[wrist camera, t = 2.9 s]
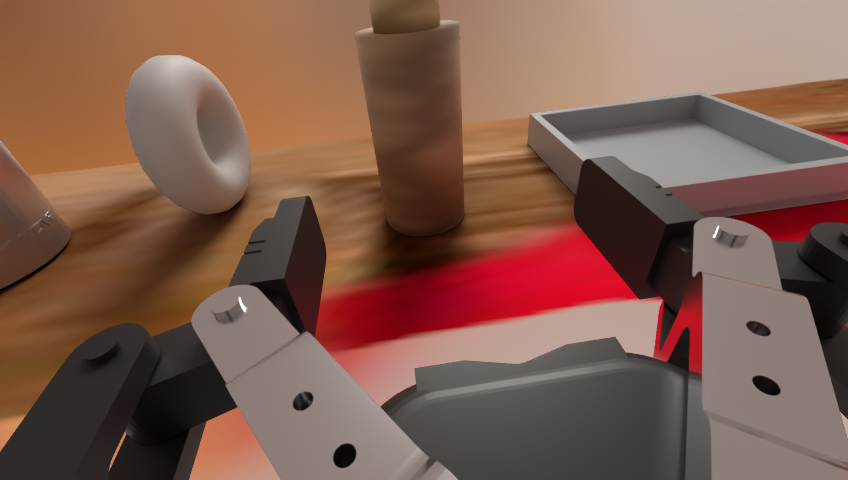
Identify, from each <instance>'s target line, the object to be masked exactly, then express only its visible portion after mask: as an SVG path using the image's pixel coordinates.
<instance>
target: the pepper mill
mask: <svg viewBox="0 0 848 480" xmlns="http://www.w3.org/2000/svg"><path fill="white" fill-rule="evenodd" d="M369 6H370V12H371V19H372V26H373V27H372V28H368V29H364V30H361V31H358V32H356V33H355V40H356V46H357V52H358V57H359V63H360V69H361V74H362V80H363V86H364V92H365V97H366V103H367V109H368V114H369V119H370V125H371V132H372V137H373V143H374V149H375V155H376V160H377V166H378V172H379V177H380V183H381V189H382V194H383V200H384V206H385V212H386V217H387V222H388V224H389V226H390V227H391V228H392V229H393V230H395V231H397V232H399V233H401V234H404V235H408V236H417V237H424V236H433V235H438V234H441V233H444V232H447V231H449V230H451V229H453V228H454V227H456V226H457V225H458V224H459V223H460V222H461V221H462V219H463V217H464V185H463V147H462V110H461V74H460V73H461V72H460V36H459V22H456V21H450V20H440V13H439V0H369Z"/></svg>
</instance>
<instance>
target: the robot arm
mask: <svg viewBox="0 0 848 480" xmlns="http://www.w3.org/2000/svg"><path fill="white" fill-rule="evenodd" d="M574 215H575V219H576V222H577V224H578V225H579V227H580V228H581V229H582V230H583V232H584V233H585V234H586V235H587V236H588V238H589V239H590V240H591V241H592V243H593V244H594V245H595V246H596V247H597V249H598V250H599V251H600V252H601V253H602V255H603V256H604V257H605V258H606V260H607V261H608V262H609V263H610V264H611V266H612V267H613V268H614V269H615V270H616V272H617V273H618V274H619V275H620V277H621V278H622V279H623V280H624V281H625V283H626V284H627V285H628V286H629V288H630V289H631V290H632V291H633V292H634V294H635V295H636V296H637V297H638V298H639V299H646V298H652V297H659V296H660V297H661V298H662V299H663V301H662V304H661V306H660V309H659V315H658V323H657V331H656V340H655V348H654V356H653V358H652V357H648V356H644V355H639V354H633V353H626V352H625V351H624V349H623V348H622V346H621V345H620V343H619V342H618V340H617V339H616V337H611V338H606V339H599V340H592V341H586V342H580V343H574V344H567V345H564V346H562V347H560V348H557V349H555V350H553V351H551V352H549V353H546V354H544V355H541V356H539V357H537V358H535V359H532V360H530V361H527V362H525V363H521V364H506V363H493V362H479V361H459V362H452V363H446V364H440V365H433V366H427V367H420V368H415V376H416V385H413V386H411V387H409V388H407V389H405V390H403V391H401V392H400V393H398V394H396V395H395V396H394V397H392V398H391V399H389V400H388V401H387V402H385V403H384V404H383V405H382V406H381V407H379V405H378V404H377V403H376V402H375V401H374V400H373V399H372V398H371V397H370V396H369V395H368V394H367V393H366V392H365V391H364V390H363V389H362V387H360V385H359V384H358V383H357V382H356V381H355V380H354V379H353V378H352V377H351V376H350V375H349V374H348V373H347V372H346V371H345V370H344V369H343V368H342V366H341V365H340V364H339V363H338V362H337V361H336V360H335V359H334V358H333V357H332V356H331V355H330V354H329V353H328V352H327V351H326V350H325V348H324V347H323V346H322V345H321V344H320V343H319V342H318V341H317V340H316V339H315V333H316V326H317V320H318V313H319V306H320V299H321V292H322V286H323V279H324V272H325V265H326V247H325V242H324V238H323V235H322V232H321V229H320V225H319V222H318V219H317V215H316V212H315V209H314V206H313V203H312V200H311V198H310V197H309V196H304V197H296V198H289V199H282V200H281V202H280V204H279V207H278V209H277V212H276V214H275V217H274V218H269V219H265V220H264V221H263V222H262V223H261V224H260V225H259V226H258V227H257V228H256V229H254V230H253V233H252V235H251V237H250V239H249V242H248V244H249V245H247V246H246V248H245V251H244V255H242V257H241V260H240V262H239V264H238V266H237V269H236V271H235V273H234V275H233V278H232V280H231V282H230V284H229V287H228V288H225V289H223V290H220V291H218V292H216V293H214V294H213V295H211V296H210V297H208V298H207V299H206V300H204V301H203V302H202V303H201V304H200V305H199V306H198V308H197V309H196V310H195V312H194V314H193V317H192V322H190V323H188V324H185V325H183V326H180V327H177V328H175V329H172V330H169V331H166V332H164V333H161V334H158V335H156V336H153V337H151V335H150V334H149V333H148V332H147V330H146V329H145V328H144V327H143V326H141V325H139V324H132V323H128V324H122V325H117V326H114V327H111V328H108V329H106V330H104V331H102V332H100V333H98V334H96V335H94V336H92V337H91V338H89V339H88V340H86V341H85V342H83V343H82V344H81V345H80V346H78V347H77V348H76V349H75V350H74V351H73V352H72V353H71V354H70V355H69V356H68V358H67V359H66V360H65V362H64V363H63V364H62V366H61V367H60V369H59V370H58V371H57V373H56V374H55V376H54V377H53V378H52V380H51V381H50V383H49V384H48V386H47V387H46V388H45V390H44V391H43V393H42V394H41V395H40V397H39V398H38V400H37V401H36V402H35V404H34V405H33V407H32V408H31V409H30V411H29V412H28V414H27V415H26V416H25V418H24V419H23V421H22V422H21V423H20V425H19V426H18V428H17V429H16V430H15V432H14V433H13V435H12V436H11V437H10V439H9V440H8V442H7V443H6V445H5V446H4V447H3V449H2V450H1V452H0V480H189V478H190V474H191V471H192V468H193V464H194V461H195V457H196V454H197V451H198V448H199V444H200V441H201V438H202V434H203V431H204V428H205V424H206V421H208V420H210V419H213V418H215V417H217V416H219V415H221V414H224V413H226V412H228V411H230V410H232V409H235V408H237V407H238V408H239V410H240V411H241V413H242V415H243V416H244V418H245V420H246V422H247V423H248V425H249V426H250V428H251V430H252V432H253V433H254V435H255V437H256V438H257V440H258V442H259V443H260V445H261V447H262V449H263V450H264V452H265V454H266V455H267V457H268V459H269V460H270V462H271V464H272V465H273V467H274V469H275V471H276V472H277V474H278V476H279V477H280V479H281V480H848V439H847V435H846V432H845V428H844V424H843V421H842V417H841V414H840V412H841V413H842V414H843V415H844V416H845V417H846V418H847V419H848V328H847V327H846V326H845V325H846V323H847V322H848V224H846V223H837V222H825V223H819V224H816V225H814V226H813V227H812V228H811V229H810V231H809V233H808V234H807V236H806V237H805V239H804V240H803V242H791V241H773V240H771V239H770V237H769V236H768V235H767V234H766V233H765V232H764V231H762V230H761V229H759V228H757V227H755V226H753V225H751V224H749V223H746V222H743V221H740V220H736V219H731V218H725V217H708V218H705V217H704V216H702V215H701V214H700V213H698V212H697V211H696V210H694V209H693V208H691V207H690V206H689V205H687V204H686V203H685V202H683V201H682V200H681V199H679V198H678V197H676V196H675V195H673V196H672V193H671V192H670V191H668V190H667V189H666V188H662V186H661V185H660V184H659V183H657V182H656V181H655V180H653V179H652V178H651V177H649V176H647V175H644V174H642V173H639V172H636V171H634V170H632V169H631V168H629V167H628V166H627V165H625V164H624V163H623V162H621V161H620V160H619V159H617V158H616V157H615V156H606V157H598V158H591V159H586V160H585V161H584V162H583V163H582V166H581V170H580V175H579V181H578V187H577V192H576V198H575V203H574ZM70 238H71V230H70V228H69V227H68V225H67V224H66V223H65V222H64V220H63V219H62V218H61V217H60V215H59V214H58V213H57V212H56V210H55V209H54V208H53V206H52V205H51V204H50V203H49V201H48V200H47V199H46V198H45V196H44V195H43V194H42V192H41V191H40V190H39V189H38V187H37V186H36V185H35V184H34V182H33V181H32V180H31V178H30V177H29V176H28V174H27V173H26V172H25V171H24V169H23V168H22V167H21V166H20V164H19V163H18V162H17V161H16V159H15V158H14V157H13V156H12V154H11V153H10V152H9V150H8V149H7V148H6V147H5V145H4V144H3V143H2V142H1V140H0V289H1V288H4V287H6V286H8V285H10V284H12V283H14V282H15V281H17V280H19V279H21V278H23V277H24V276H26V275H28V274H30V273H31V272H33V271H34V270H36V269H38V268H39V267H41V266H42V265H44V264H45V263H47V262H48V261H49V260H50V259H52V258H53V257H54V256H55V255H57V254H58V253H59V252H60V251H61V250H62V249H63V248H64V247H65V245H66V244H67V243H68V241H69V239H70ZM124 432H126V433H127V434H126V436H125V438H124V441H123V443H122V445H121V447H120V449H119V451H118V453H117V456H116V458H115V460H114V462H113V464H112V467H111V468H110V471H109V466H110V463H111V460H112V457H113V455H114V453H115V451H116V449H117V447H118V444H119V442H120V440H121V438H122V436H123V434H124Z"/></svg>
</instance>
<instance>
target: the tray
mask: <svg viewBox="0 0 848 480" xmlns="http://www.w3.org/2000/svg"><path fill="white" fill-rule="evenodd" d="M527 144H528V145H529V146H530V147H531V148H532V149H533V150H534V151H535V152H536V153H537V154H538V155H539V157H540V158H541V159H542V160H543V161H544V162H545V163H546V164H547V165H548V166H549V167H550V168H551V170H552V171H553V172H554V173H555V174H556V175H557V176H558V177H559V178H560V179H561V180H562V182H563V183H564V184H565V185H566V186H567V187H568V188H569V189H570V190H571V191H572V192H573V193H574V195H575V196H576V192H577V187H578V181H579V175H580V170H581V166H582V163H583V162H584V161H585V160H586V159H591V158H598V157H606V156H615V157H616V158H617V159H619V160H620V161H621V162H623V163H624V164H625V165H627V166H628V167H629V168H631V169H632V170H634V171H636V172H639V173H642V174H644V175H647V176H649V177H651V178H652V179H653V180H655V181H656V182H657V183H659V184H660V185H661V186H662V188H666V189H667V190H668V191H670V192H671V193H672V196H673V195H675V196H676V197H678V198H679V199H681V200H682V201H683V202H685V203H686V204H687V205H689V206H690V207H691V208H693V209H694V210H696V211H697V212H698V213H700V214H701V215H702V216H704V217H705V218H708V217H728V216H735V215H742V214H749V213H755V212H762V211H769V210H776V209H783V208H790V207H797V206H804V205H811V204H818V203H824V202H831V201H838V200H845V199H848V145H846V144H843V143H840V142H837V141H835V140H832V139H829V138H826V137H824V136H821V135H818V134H815V133H813V132H810V131H807V130H804V129H802V128H799V127H796V126H793V125H791V124H788V123H785V122H782V121H780V120H777V119H774V118H771V117H769V116H766V115H763V114H760V113H758V112H755V111H752V110H749V109H747V108H744V107H741V106H738V105H736V104H733V103H730V102H727V101H725V100H722V99H719V98H716V97H714V96H711V95H708V94H705V93H702V92H695V93H688V94H680V95H672V96H664V97H657V98H649V99H641V100H633V101H625V102H618V103H610V104H602V105H594V106H586V107H579V108H571V109H563V110H556V111H548V112H539V113H532V114H530V118H529V130H528V142H527Z"/></svg>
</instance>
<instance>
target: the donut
mask: <svg viewBox="0 0 848 480" xmlns="http://www.w3.org/2000/svg"><path fill="white" fill-rule="evenodd" d="M125 107H126V108H125V113H126V124H127V128H128V132H129V136H130V140H131V144H132V147H133V149H134V151H135V153H136V156H137V158H138V160H139V162H140V164H141V166H142V168H143V170H144V172H145V173H146V174H147V175H148V177H149V178H150V179H151V181H152V182H153V183H154V185H155V186H156V187H157V189H158V190H159V191H161V192H162V193H163V194H164V195H165V196H167V197H168V198H169V199H170V200H171V201H173V202H174V203H175V204H176V205H178V206H179V207H182V208H185V209H188V210H190V211H193V212H196V213H199V214H214V213H220V212H224V211H227V210H229V209H230V208H232V207H233V206H234V205H235V204H236V203H238V202H239V201H240V200H241V199H242V197H243V195H244V194H245V191H246V189H247V186H248V184H249V178H250V169H251V161H250V149H249V143H248V139H247V134H246V131H245V127H244V124H243V122H242V118H241V116H240V114H239V112H238V110H237V107H236V105H235V103H234V101H233V99H232V98H231V96H230V95H229V93H228V92H227V90H226V89H225V87H224V86H223V84H222V83H221V82H220V81H219V80H218V79H217V78H216V77H215V75H213V73H212V72H211V71H209V70H208V69H207V68H206V67H204V66H203V65H201V64H199V63H197V62H195V61H193V60H192V59H189V58H187V57H184V56H178V55H165V56H164V55H161V56H155V57H153V58H150V59H149V60H148V61H146V62H145V63H144V64H143V65H142V66H141V67H139V68H138V69H137V70H136V71H135V72H134V73H133V75H132V78H131V81H130V84H129V87H128V90H127V93H126V97H125Z"/></svg>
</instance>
